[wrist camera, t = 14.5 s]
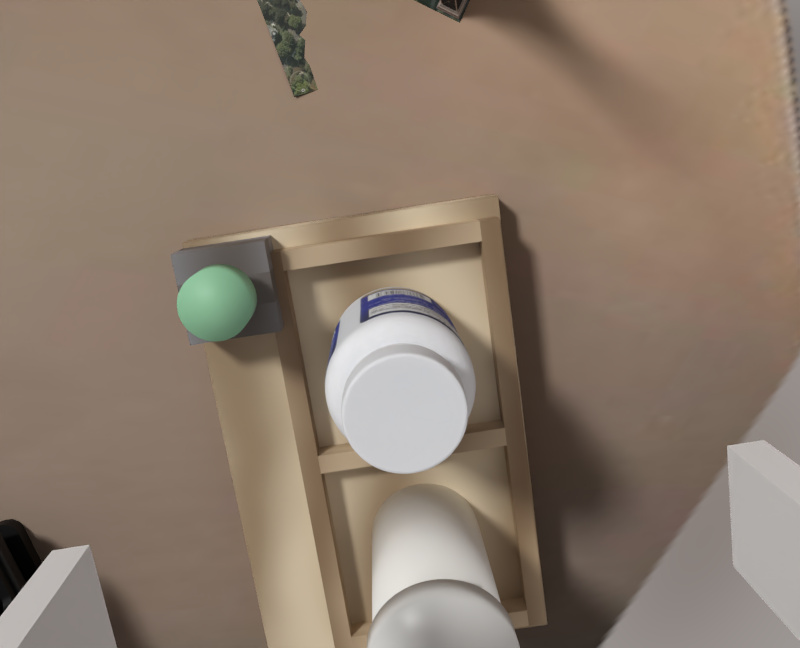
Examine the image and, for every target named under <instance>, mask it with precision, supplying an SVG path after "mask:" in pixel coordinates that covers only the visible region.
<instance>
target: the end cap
mask: <svg viewBox="0 0 800 648" xmlns="http://www.w3.org/2000/svg"><path fill="white" fill-rule="evenodd" d="M41 564H42V562H41V560H40V558H39V556H38V554H37V552H36V550H35V548H34V546H33V544H32V542H31V540H30V538H29V536H28V534H27V532H26V531H25V529H24V527H23V526H22V524H21V523H20V522H18V521H16V520H13V519H10V520H4V521H1V522H0V616H1V615H2V614H3V612H4V611H5V610H6V609H7V607H8V606H9V605H10V603H11V602H12V601H13V600H14V598H15V597H16V596H17V595H18V593H19V592H20V591H21V589H22V588H23V587H24V586H25V584H26V583H27V582H28V581H29V579H30V578H31V577H32V575H33V574H34V573H35V572H36V570H37V569H38V568H39V567H40V565H41Z"/></svg>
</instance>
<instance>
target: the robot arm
mask: <svg viewBox="0 0 800 648" xmlns="http://www.w3.org/2000/svg"><path fill="white" fill-rule="evenodd" d="M727 453H728V472H729V493H730V513H731V532H732V553H733V566H734V567H735V569H736V570H737V571H738V572H739V573H740V574H741V575H742V576H743V578H744V579H745V580H746V581H747V582H748V583H749V584H750V585H751V587H752V588H753V589H754V590H755V591H756V592H757V593H758V595H759V596H760V597H761V598H762V599H763V600H764V601H765V602H766V604H767V605H768V606H769V607H770V608H771V609H772V610H773V611H774V613H775V614H776V615H777V616H778V617H779V618H780V619H781V620H782V622H783V623H784V624H785V625H786V626H787V627H788V628H789V629H790V631H791V632H792V633H793V634H794V635H795V636H796V637H797V639H798V640H799V641H800V466H799V465H798V464H796V463H795V462H793V461H792V460H791V459H789V458H788V457H787V456H785V455H784V454H782V453H781V452H780V451H778V450H777V449H775V448H774V447H773V446H771V445H770V444H769V443H767V442H766V441H765V440H762V441H755V442H749V443H742V444H736V445H729V446H727ZM0 648H117V646H116V642H115V638H114V634H113V631H112V627H111V623H110V619H109V616H108V612H107V608H106V604H105V601H104V597H103V593H102V589H101V586H100V582H99V578H98V574H97V570H96V567H95V563H94V559H93V555H92V552H91V548H90V545H85V546H78V547H72V548H65V549H59V550H52V551H51V553H50V554H49V555H48V556H47V558H46V559H45V560H44V561H43V563H42V564H41V565H40V567H39V568H38V569H37V570H36V572H35V573H34V574H33V575H32V577H31V578H30V579H29V581H28V582H27V583H26V584H25V586H24V587H23V588H22V589H21V591H20V592H19V593H18V595H17V596H16V597H15V598H14V600H13V601H12V602H11V603H10V605H9V606H8V607H7V609H6V610H5V611H4V612H3V614H2V615H1V616H0Z"/></svg>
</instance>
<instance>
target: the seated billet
mask: <svg viewBox="0 0 800 648" xmlns="http://www.w3.org/2000/svg"><path fill="white" fill-rule="evenodd" d="M366 648H520V646H519V642H518V639H517V636H516V633H515V629H514V626H513V623H512V621H511V618H510V616H509V614H508V612H507V611H506V609H505V608H504V607H503V605H502V604H501V602H500V598H499V595H498V591H497V588H496V584H495V581H494V577H493V574H492V570H491V567H490V563H489V560H488V556H487V553H486V549H485V546H484V542H483V539H482V536H481V532H480V529H479V525H478V522H477V518H476V515H475V513H474V511H473V509H472V507H471V506H470V504H469V503H468V502H467V500H466V499H465V498H464V497H463V496H461V495H460V494H459V493H457V492H456V491H454V490H452V489H450V488H448V487H445V486H442V485H438V484H431V483H423V484H415V485H411V486H408V487H405V488H403V489H401V490H399V491H397V492H395V493H394V494H392V495H391V496H390V497H389V498H388V499H386V501H385V502H384V503H383V504H382V505H381V507H380V508H379V510H378V512H377V514H376V516H375V519H374V521H373V527H372V623H371V626H370V629H369V632H368V637H367V647H366Z"/></svg>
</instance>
